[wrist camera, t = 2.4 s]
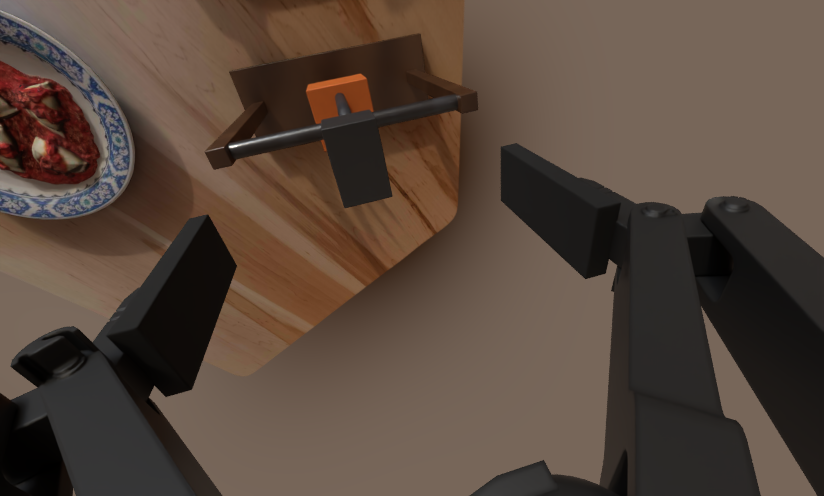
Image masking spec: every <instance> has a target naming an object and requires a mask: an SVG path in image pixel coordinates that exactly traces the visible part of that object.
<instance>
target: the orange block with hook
mask: <svg viewBox="0 0 824 496" xmlns="http://www.w3.org/2000/svg"><path fill="white" fill-rule="evenodd" d="M306 93H307V96H308V100H309V103H310V106H311V109H312V113H313V116H314V119H315V122H316V124H319V123H321V133H322V136H323V139H324V140H321V142H322V145H323V148H324V151H325V152H326V151H327V152H328V156H329V159H330V162H331V166H332V169H333V172H334V175H335V179H336V182H337V185H338V189H339V192H340V195H341V199H342V202H343V205H344V208H348V207H352V206H357V205H361V204H365V203H369V202H373V201H377V200H381V199H385V198H389V197H392V191H391V187H390V182H389V177H388V172H387V168H386V163H385V158H384V153H383V149H382V144H381V139H380V135H379V130H378V125H377V120H376V118H375V116H374V115H373V113H372V112H374V110H373V105H372V100H371V96H370V91H369V86H368V81H367V78H366V77H364V76H363V75H362V74H356V75H352V76H347V77H342V78H337V79H332V80H327V81H322V82H318V83H313V84H309V85H308V87H307V90H306Z"/></svg>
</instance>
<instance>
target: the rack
mask: <svg viewBox="0 0 824 496" xmlns="http://www.w3.org/2000/svg"><path fill="white" fill-rule="evenodd" d="M229 73H230V75H231V78H232V80H233V83H234V85H235V87H236V90H237V92H238V95H239V97H240V99H241V102H242V104H243V107H244V109H245V111H244V112H243V113H242V114H241V115H240V116H239V117H238V118H237V119H236V120H235V121H234V122H233V123H232V124H231V125H230V126H229V127H228V128H227V129H226V130H225V131H224V132H223V133H222V134H221V135H220V136H219V137H218V139H217V140H216V141H215V142H214V143H213V144H212V145H211V146H210V147H209V148H208V149H207V150H206V151H205V154H206V156H207V158H208V160H209V162H210V164H211V165H212V167H213V169H214V170H215V169H219V168H224V167H228V166H232V165H233V164H234V162H235V161H236V159H240V158H245V157H249V156H253V155H258V154H262V153H267V152H271V151H276V150H280V149H285V148H289V147H294V146H298V145H303V144H307V143H311V142H316V141H320V140H324V139H323V136H322V133H321V123H319V124H316V122H315V119H314V116H313V113H312V109H311V106H310V103H309V100H308V96H307V93H306V90H307V87H308V85H309V84H313V83H318V82H322V81H327V80H332V79H337V78H342V77H347V76H352V75H356V74H362V75H363V76H364V77H366V78H367V81H368V86H369V91H370V96H371V100H372V105H373V110H374V112H372V113H373V115H374V116H375V118H376V120H377V125H378V127H383V126H387V125H392V124H396V123H401V122H405V121H410V120H414V119H419V118H423V117H428V116H432V115H437V114H441V113H445V112H450V111H454V110H456V111H458V112H460V113H462V114H463V113H468V112H472V111H476V110H478V101H477V92H476V91H473V90H471V89H468V88H465V87H463V86H460V85H457V84H455V83H452V82H449V81H447V80H444V79H441V78H438V77H436V76H433V75H430V74H428V73H425V67H424V59H423V51H422V42H421V34H413V35H408V36H403V37H398V38H393V39H388V40H383V41H378V42H373V43H368V44H363V45H358V46H353V47H348V48H343V49H338V50H333V51H327V52H322V53H317V54H312V55H307V56H302V57H297V58H292V59H287V60H282V61H277V62H272V63H267V64H262V65H257V66H252V67H247V68H242V69H237V70H232V71H229ZM428 95H430V96H432V97H433V99H429V100H428ZM254 133H255V135H256V137H255V138H251V137H252V136H253V134H254Z"/></svg>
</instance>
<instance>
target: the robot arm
mask: <svg viewBox="0 0 824 496" xmlns="http://www.w3.org/2000/svg"><path fill="white" fill-rule="evenodd" d="M501 201H502V202H503V203H504V204H505V205H506V206H507V207H509V208H510V209H511V210H512V211H513V212H514V213H515V214H516V215H517V216H518V217H519V218H520V219H522V221H524V222H525V223H526V224H527V225H528V226H529V227H530V228H531V229H532V230H533V231H534V232H535V233H537V234H538V235H539V236H540V237H541V238H542V239H543V240H544V241H545V242H546V243H547V244H548V245H549V246H551V247H552V248H553V249H554V250H555V251H556V252H557V253H558V254H559V255H560V256H561V257H562V258H563V259H564V260H565V261H567V262H568V263H569V264H570V265H571V266H572V267H573V268H574V269H575V270H576V271H578V273H579V274H580V275H582V276H583V277H584V278H585V279H587V278H591V277H595V276H598V275H602V274H605V273H606V269H607V265H608V261H609V259H610V260H611V261H612V262H614V263H615V264H617V269H616V273H615V278H614V281H613V286H612V290H611V291H613V292H614V303H613V319H612V336H611V337H612V338H611V353H610V368H609V385H608V401H607V418H606V434H605V451H604V461H603V468H602V473H601V478H600V485H598V484H595V483H593V482H590V481H587V480H584V479H580V478H576V477H573V476H565V475H551V473H550V471H549V469H548V467H547V465H546V463H545V462H544V460H543V461H540V462H537V463H534V464H531V465H528V466H525V467H522V468H519V469H516V470H513V471H510V472H507V473H504V474H501V475H498V476H496V477H495V478H493V479H492V480H490V481H489V482H488V483H486V484H485V485H484V486H482V487H481V488H479V489H478V490H477V491H475V492H474V493H473V494H471V495H470V496H761V495H760V491H759V487H758V483H757V479H756V475H755V471H754V467H753V463H752V459H751V454H750V450H749V447H748V442H747V439H746V436H745V433H744V431H743V428H742V427H741V425H740V424H739V423H738V422H737V421H736V420H732V419H729V418H726V417H725V416H724V414H723V411H722V407H721V402H720V397H719V392H718V387H717V383H716V378H715V373H714V368H713V363H712V358H711V353H710V349H709V344H708V339H707V335H706V329H705V324H704V319H703V314H702V309H701V306H702V308H703V310H704V311H705V313H706V314H707V316H708V318H709V320H710V321H711V323H712V324H713V326H714V328H715V329H716V331H717V333H718V334H719V336H720V337H721V339H722V341H723V342H724V344H725V345H726V347H727V349H728V351H729V352H730V354H731V355H732V357H733V359H734V360H735V362H736V364H737V365H738V367H739V368H740V370H741V371H742V373H743V375H744V377H745V378H746V380H747V381H748V383H749V385H750V386H751V388H752V390H753V391H754V393H755V394H756V396H757V398H758V399H759V401H760V403H761V404H762V406H763V408H764V409H765V411H766V412H767V414H768V416H769V417H770V419H771V420H772V422H773V424H774V425H775V427H776V429H777V430H778V432H779V434H780V435H781V437H782V438H783V440H784V442H785V443H786V445H787V447H788V448H789V450H790V451H791V453H792V455H793V457H794V458H795V460H796V461H797V463H798V464H799V466H800V468H801V470H802V471H803V473H804V474H805V476H806V478H807V479H808V481H809V483H810V484H811V486H812V487H813V489H814V491H815V492H816V494H817V496H824V258H823V257H822V256H821V255H820V254H819V253H817V252H816V251H815V250H814V249H813V248H811V247H810V246H809V245H808V244H807V243H805V242H804V241H803V240H802V239H801V238H799V237H798V236H797V235H795V233H793V232H792V231H791V230H790V229H788V228H787V227H786V226H785V225H784V224H783V223H781V222H780V221H779V220H778V219H777V218H775V217H774V216H773V215H772V214H770V213H769V212H768V211H767V210H766V209H765V208H763V207H762V206H761V205H759V204H757V203H755V202H753V201H750V200H747V199H745V198H741V197H739V198H738V197H735V196H731V197H724V196H723V197H714V198H712V199H709V200H708V201H707V202H706V204H705V207H704V209H703V212H702V213H691V214H681V212H680V211H679V210H678V209H676V208H675V207H673V206H670V205H667V204H662V203H656V202H645V203H639V204H635V203H634V202H632V201H630V200H628V199H626V198H624V197H623V196H621V195H619V194H617V193H615V192H612V190H610V189H608V188H604V186H602V185H601V184H599V183H597V182H595V181H592V180H588V179H584V178H577V177H575V176H574V175H572V174H570V173H568V172H566V171H565V170H563V169H561V168H559V167H558V166H555V165H554V164H552V163H550V162H549V161H547V160H545V159H543V158H542V157H540V156H538V155H536V154H535V153H533V152H531V151H529V150H527V149H526V148H523V147H522V146H520V145H519V144H517V143H515V144H511V145H507V146H503V147H501ZM236 267H237V265H236V263H235V261H234V260H233V258H232V256H231V254H230V253H229V251H228V249H227V247H226V245H225V244H224V242H223V240H222V238H221V236H220V235H219V233H218V231H217V229H216V227H215V226H214V224H213V222H212V220H211V219H210V217H209V215H203V216H199V217H195V218H190V219H189V220H188V221H187V223H186V224H185V226H184V227H183V228H182V230H181V231H180V233H179V234H178V235H177V237H176V238H175V240H174V241H173V242H172V244H171V245H170V247H169V248H168V249H167V251H166V252H165V254H164V255H163V256H162V258H161V259H160V261H159V262H158V263H157V265H156V266H155V268H154V269H153V270H152V272H151V273H150V275H149V276H148V277H147V279H146V280H145V282H144V283H143V284H142V286H141V287H140V288H137V289H136V290H135V291H134V292H133V293H131V294H130V295H129V296H128V297H127V298H126V299H124V301H123V302H122V303H121V305H120V306H119V307H118V309H117V310H116V311H117V312H115V313H114V314H113V315H112V317H111V318H110V322H107V324H106V325H105V326H104V328H103V329H102V330H101V332H100V333H99V334H98V336H97V337H96V339H95V340H94V341H93V342H91V341H90V340H89V339H88V338H87V337H86V336H85V335H84V334H83V333H82V332H81V331H80V330H79V329H77V328H76V327H74V326H72V327H64V328H60V329H57V330H54V331H52V332H50V333H48V334H45V335H43V336H41V337H40V338H38V339H36V340H35V341H33V342H32V343H30V344H29V345H27V346H26V347H25V348H24V349H22V350H21V351H20V352H19V353H18V354H17V355H16V356H15V358H14V359H13V360H12V363H11V367H12V368H13V369H14V370H16V371H17V372H18V373H19V374H21V375H22V376H23V377H25V378H26V379H27V380H29V381H30V382H31V383H33V384H34V385H35V386H37V387H38V388H36V389H34V390H32V391H30V392H27V393H25V394H23V395H21V396H19V397H16V398H14V399H12V400H9V399H8V398H7V397H5V396H4V395H2V394H1V393H0V496H72V495H73V488H74V491H75V494H76V496H222V495H221V493H220V492H219V490H218V489H217V488H216V486H215V485H214V484H213V482H212V481H211V480H210V478H209V477H208V475H207V474H206V473H205V471H204V470H203V468H202V467H201V466H200V464H199V463H198V462H197V460H196V459H195V457H194V456H193V455H192V453H191V452H190V451H189V449H188V448H187V447H186V445H185V444H184V442H183V441H182V440H181V438H180V437H179V435H178V434H177V433H176V431H175V430H174V429H173V427H172V426H171V424H170V423H169V422H168V420H167V419H166V418H165V416H164V415H163V413H162V412H161V411H160V410H159V408H158V407H157V405H156V404H155V403H154V402H153V401H152V400H151V399H150V398H149V396H150V394H151V391H152V389H153V387H154V385H155V386H156V387H157V388H158V389H159V390H160V391H161V393H163V395H164V396H165V397H167V396H171V395H175V394H178V393H182V392H185V391H189V390H192V388H193V385H194V383H195V380H196V377H197V374H198V372H199V369H200V366H201V363H202V361H203V358H204V355H205V352H206V350H207V347H208V344H209V341H210V339H211V336H212V333H213V330H214V328H215V325H216V322H217V319H218V317H219V314H220V311H221V308H222V306H223V303H224V300H225V297H226V295H227V292H228V289H229V287H230V284H231V281H232V278H233V276H234V273H235V270H236Z"/></svg>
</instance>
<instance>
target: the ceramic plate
mask: <svg viewBox="0 0 824 496" xmlns="http://www.w3.org/2000/svg"><path fill="white" fill-rule="evenodd" d="M134 164H135V147H134V140H133V136H132V132H131V129H130V127H129V124H128V122H127V119H126V116H125V115H124V113H123V111H122V109H121V107H120V106H119V104H118V102H117V100H116V99H115V98H114V96H113V95H112V93H111V92H110V90H109V89H108V88H107V87H106V85H105V84H104V83H103V82H102V80H101V79H100V78H99V77H98V76H97V75H96V74H95V73H94V72H93V71H92V69H91V68H90V67H88V66H87V65H86V64H85V63H84V62H83V61H82V60H81V59H80V58H79V57H78V56H76V55H75V54H74V53H73V52H72V51H70V50H69V49H68V48H67V47H65V46H64V45H62V44H61V43H60V42H58V41H57V40H56V39H54V38H53V37H51V36H50V35H48V34H46V33H45V32H43V31H42V30H40V29H38V28H36V27H35V26H33V25H31V24H29V23H27V22H26V21H24V20H21V19H19V18H17V17H15V16H13V15H11V14H9V13H6V12H4V11H1V10H0V212H2V213H6V214H10V215H15V216H20V217H26V218H33V219H43V220H58V219H70V218H77V217H82V216H86V215H89V214H92V213H95V212H97V211H99V210H101V209H103V208H105V207H107V206H108V205H110V204H111V203H113V202H114V201H115V200H116V199H117V198H118V197H119V196H120V195H121V194H122V193H123V191H124V190H125V189H126V187H127V185H128V184H129V182H130V179H131V177H132V174H133V171H134Z"/></svg>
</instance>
